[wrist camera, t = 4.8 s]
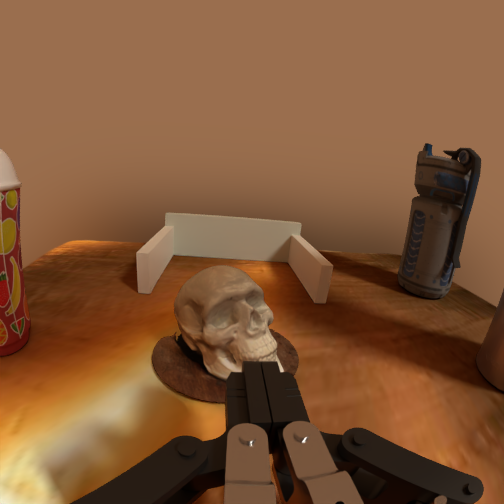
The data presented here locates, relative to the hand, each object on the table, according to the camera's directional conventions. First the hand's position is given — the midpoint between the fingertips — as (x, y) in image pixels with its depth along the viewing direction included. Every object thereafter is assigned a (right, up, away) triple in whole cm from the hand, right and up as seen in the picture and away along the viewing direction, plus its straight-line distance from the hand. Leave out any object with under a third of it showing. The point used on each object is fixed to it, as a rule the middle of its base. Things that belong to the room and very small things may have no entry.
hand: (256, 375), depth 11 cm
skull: (-2, -4, +10) cm, 11 cm away
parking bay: (-3, +2, +28) cm, 29 cm away
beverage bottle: (+29, -1, +28) cm, 40 cm away
